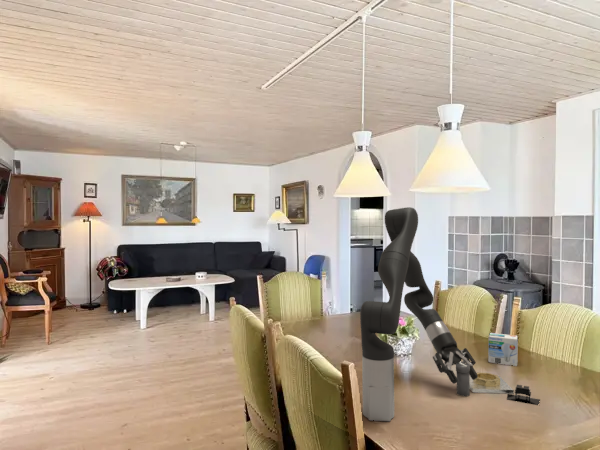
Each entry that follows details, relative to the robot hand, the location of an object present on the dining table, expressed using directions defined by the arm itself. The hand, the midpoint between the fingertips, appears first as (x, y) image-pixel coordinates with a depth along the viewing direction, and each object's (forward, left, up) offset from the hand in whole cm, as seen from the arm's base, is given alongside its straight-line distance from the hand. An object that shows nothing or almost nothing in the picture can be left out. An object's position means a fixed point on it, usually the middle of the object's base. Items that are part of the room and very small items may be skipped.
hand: (465, 380), depth 140 cm
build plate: (-2, -17, -6) cm, 18 cm away
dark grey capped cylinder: (+1, +1, -5) cm, 5 cm away
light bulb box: (+36, -24, -5) cm, 44 cm away
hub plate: (+9, -9, -5) cm, 14 cm away
